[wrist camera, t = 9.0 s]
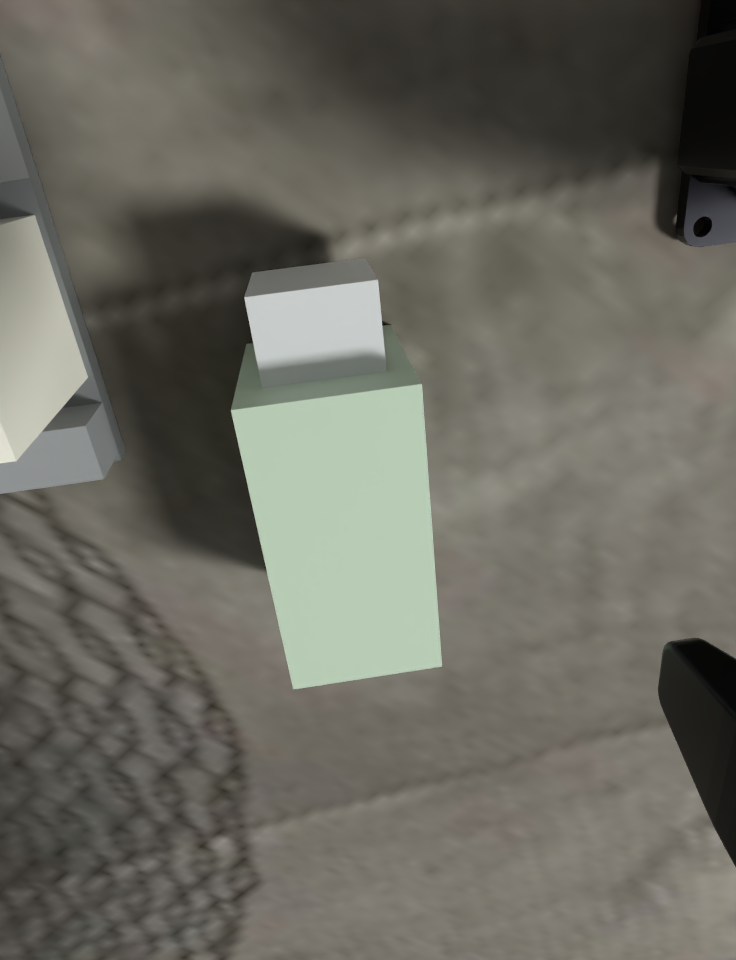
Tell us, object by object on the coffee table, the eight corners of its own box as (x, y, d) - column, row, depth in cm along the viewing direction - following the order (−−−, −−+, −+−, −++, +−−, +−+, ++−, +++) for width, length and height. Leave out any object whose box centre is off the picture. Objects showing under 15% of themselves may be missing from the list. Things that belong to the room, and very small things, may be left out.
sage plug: (412, 559, 22) (442, 666, 17) (293, 576, 22) (293, 689, 17) (383, 248, 17) (414, 286, 13) (231, 267, 17) (209, 313, 12)
